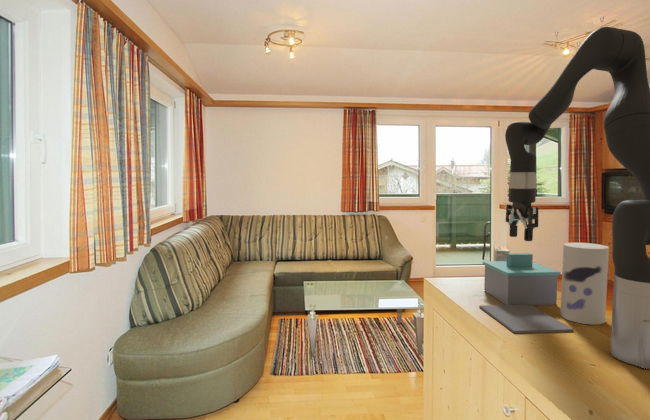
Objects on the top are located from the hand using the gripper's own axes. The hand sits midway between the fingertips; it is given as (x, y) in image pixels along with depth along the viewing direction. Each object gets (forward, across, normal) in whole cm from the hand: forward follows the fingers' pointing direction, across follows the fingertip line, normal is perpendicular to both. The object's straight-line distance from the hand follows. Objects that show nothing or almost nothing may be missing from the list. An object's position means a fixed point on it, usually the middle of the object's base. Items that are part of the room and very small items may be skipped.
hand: (520, 238), depth 121 cm
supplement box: (+19, +15, -2) cm, 24 cm away
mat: (+19, -18, +9) cm, 28 cm away
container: (+19, -19, -7) cm, 28 cm away
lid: (+11, 0, 0) cm, 11 cm away
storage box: (+19, 0, 0) cm, 19 cm away
